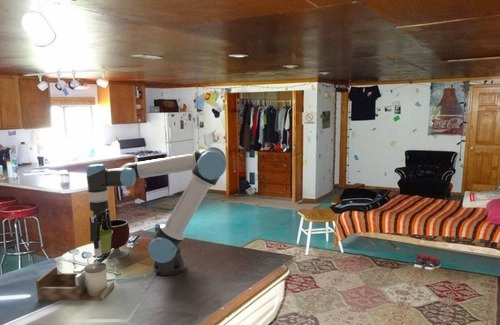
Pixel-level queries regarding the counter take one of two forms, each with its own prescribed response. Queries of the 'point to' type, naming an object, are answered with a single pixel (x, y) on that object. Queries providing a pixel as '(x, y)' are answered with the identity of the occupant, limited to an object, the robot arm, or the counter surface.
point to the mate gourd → (119, 238)
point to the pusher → (81, 279)
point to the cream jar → (96, 278)
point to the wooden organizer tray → (64, 287)
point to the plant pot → (105, 240)
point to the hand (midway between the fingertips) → (103, 251)
